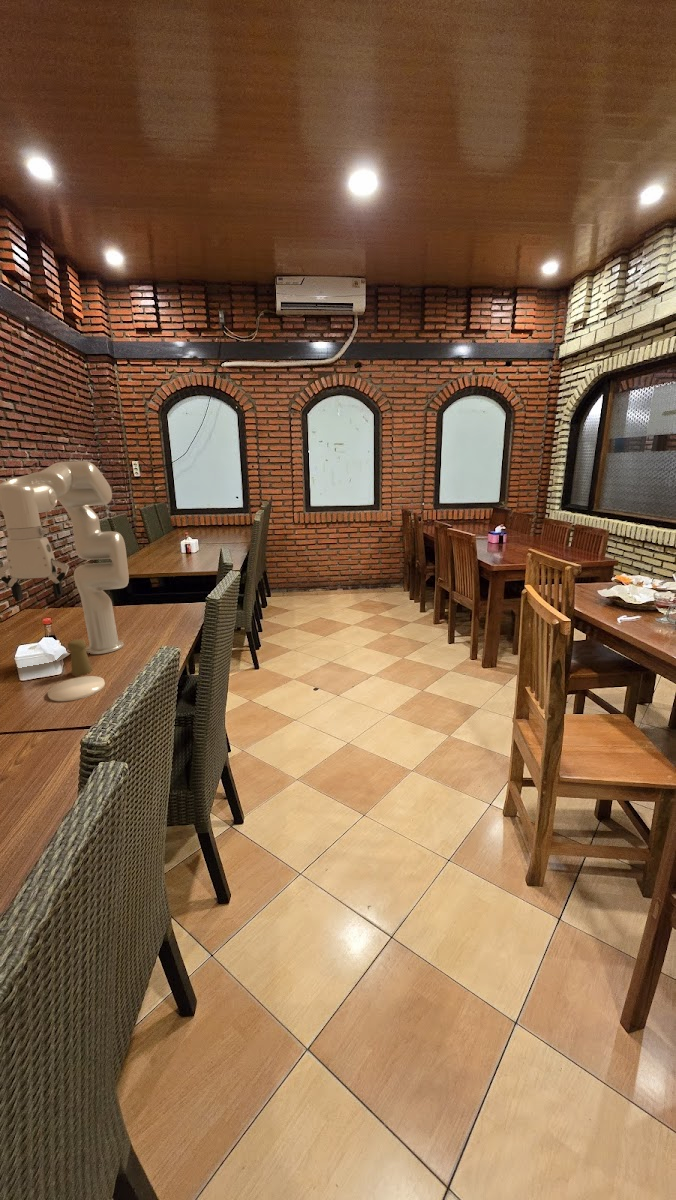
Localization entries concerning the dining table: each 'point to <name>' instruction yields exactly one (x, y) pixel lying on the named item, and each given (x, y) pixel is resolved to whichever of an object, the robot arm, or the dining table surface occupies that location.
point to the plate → (76, 688)
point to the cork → (79, 657)
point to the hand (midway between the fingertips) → (39, 598)
